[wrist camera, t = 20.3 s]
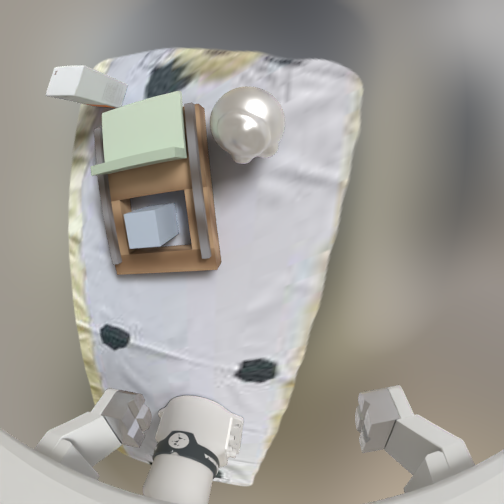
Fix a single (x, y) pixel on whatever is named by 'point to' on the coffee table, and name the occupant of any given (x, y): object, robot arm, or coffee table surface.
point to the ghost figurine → (248, 123)
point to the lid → (143, 134)
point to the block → (151, 225)
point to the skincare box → (86, 87)
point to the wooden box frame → (160, 181)
